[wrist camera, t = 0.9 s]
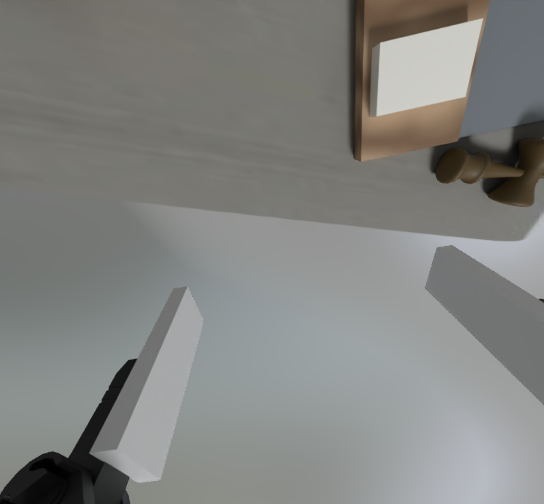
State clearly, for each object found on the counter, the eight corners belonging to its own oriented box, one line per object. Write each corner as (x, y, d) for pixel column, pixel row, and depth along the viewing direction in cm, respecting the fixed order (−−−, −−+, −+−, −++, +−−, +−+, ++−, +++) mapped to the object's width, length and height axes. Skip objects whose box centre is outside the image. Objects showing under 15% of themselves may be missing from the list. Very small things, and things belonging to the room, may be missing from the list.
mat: (489, -40, 24) (493, -42, 24) (623, -73, 23) (628, -76, 23) (451, 138, 33) (453, 138, 33) (546, 118, 32) (549, 118, 32)
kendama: (448, 128, 33) (565, 142, 34) (419, 190, 38) (522, 200, 39) (481, 130, 28) (617, 146, 29) (443, 202, 33) (561, 212, 34)
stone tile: (372, 48, 25) (380, 42, 24) (467, 25, 25) (483, 18, 23) (369, 117, 29) (376, 116, 27) (452, 98, 28) (465, 96, 27)
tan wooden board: (355, -6, 25) (365, -19, 23) (480, -38, 24) (502, -54, 22) (354, 159, 34) (361, 161, 32) (444, 140, 33) (457, 141, 31)
